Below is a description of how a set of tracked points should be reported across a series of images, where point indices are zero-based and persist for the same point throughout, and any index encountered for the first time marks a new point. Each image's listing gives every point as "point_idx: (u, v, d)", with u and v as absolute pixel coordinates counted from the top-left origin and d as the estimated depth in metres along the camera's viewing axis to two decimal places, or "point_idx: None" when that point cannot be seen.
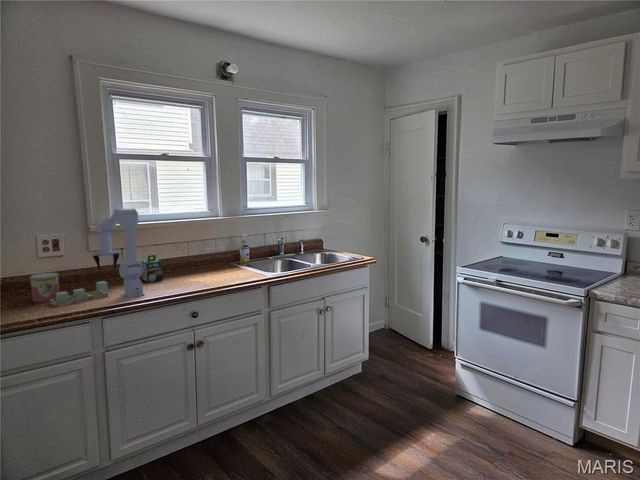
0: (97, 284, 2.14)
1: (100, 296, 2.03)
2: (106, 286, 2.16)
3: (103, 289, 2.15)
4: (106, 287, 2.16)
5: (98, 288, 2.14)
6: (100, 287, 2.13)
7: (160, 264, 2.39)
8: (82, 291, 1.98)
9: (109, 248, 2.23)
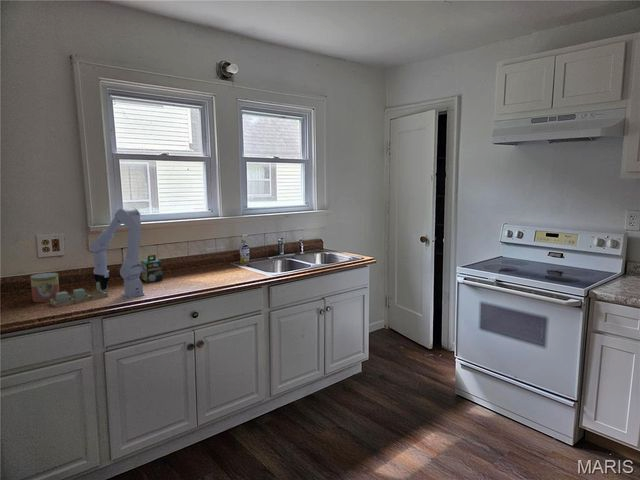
0: (97, 284, 2.14)
1: (100, 296, 2.03)
2: None
3: None
4: None
5: (98, 288, 2.14)
6: (100, 287, 2.13)
7: (160, 264, 2.39)
8: (82, 291, 1.98)
9: (97, 268, 2.12)
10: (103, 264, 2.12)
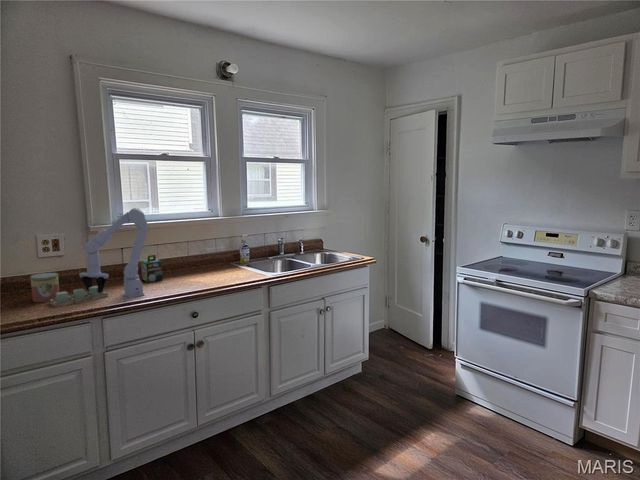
0: (91, 289, 2.03)
1: (100, 296, 2.03)
2: None
3: None
4: None
5: (93, 293, 2.03)
6: (96, 292, 2.03)
7: (160, 264, 2.39)
8: (82, 291, 1.98)
9: (93, 270, 2.01)
10: (99, 265, 2.03)
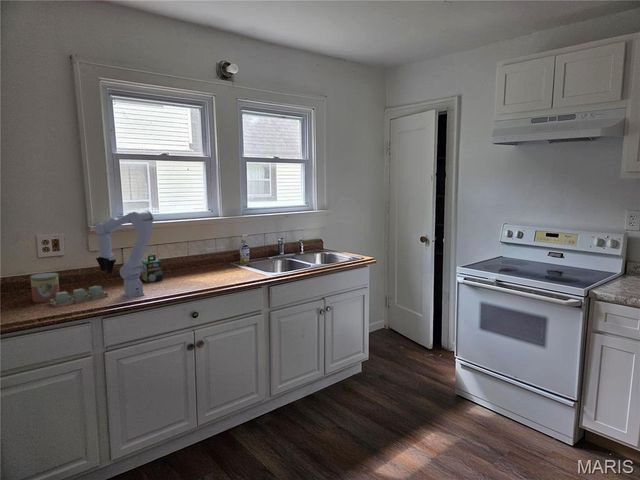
0: (91, 289, 2.03)
1: (100, 296, 2.03)
2: (101, 290, 2.06)
3: None
4: (101, 291, 2.06)
5: (93, 293, 2.03)
6: (96, 292, 2.03)
7: (160, 264, 2.39)
8: (82, 291, 1.98)
9: (101, 251, 2.10)
10: (108, 247, 2.11)
